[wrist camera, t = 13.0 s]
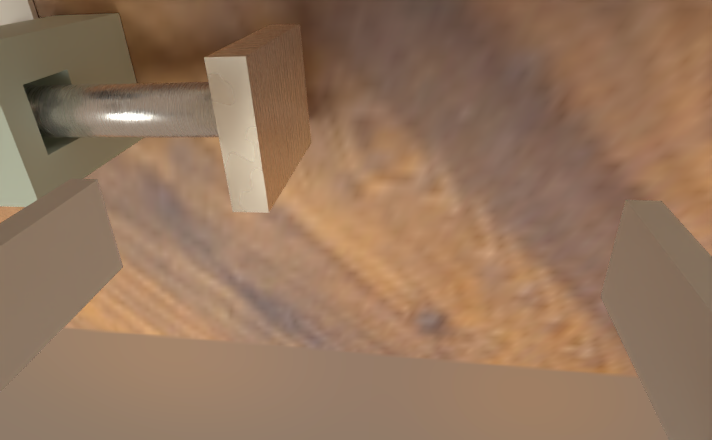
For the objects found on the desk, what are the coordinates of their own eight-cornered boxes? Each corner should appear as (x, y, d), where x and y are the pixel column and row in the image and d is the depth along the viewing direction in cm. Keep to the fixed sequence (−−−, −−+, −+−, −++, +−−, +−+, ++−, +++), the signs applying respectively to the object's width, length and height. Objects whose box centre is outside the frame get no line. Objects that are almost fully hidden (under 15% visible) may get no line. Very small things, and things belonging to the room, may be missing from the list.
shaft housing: (53, 15, 28) (-114, 47, 20) (118, 13, 28) (-24, 44, 19) (90, 133, 32) (-38, 205, 23) (149, 133, 31) (40, 207, 22)
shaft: (1, 33, 26) (-154, 65, 19) (299, 23, 24) (245, 56, 17) (41, 142, 29) (-82, 205, 22) (311, 142, 27) (268, 212, 20)
